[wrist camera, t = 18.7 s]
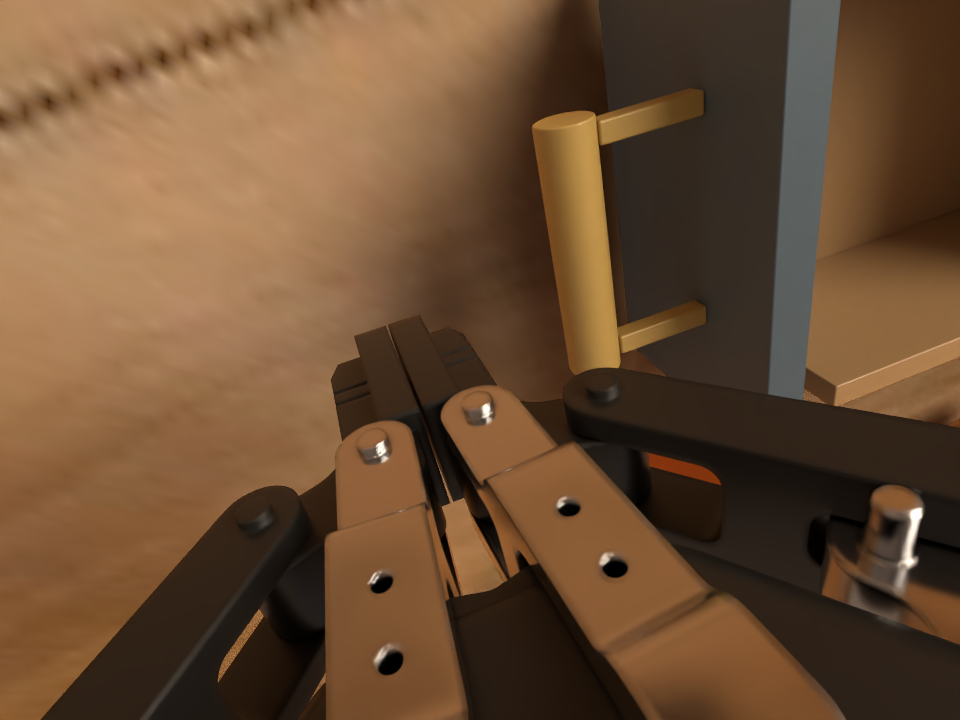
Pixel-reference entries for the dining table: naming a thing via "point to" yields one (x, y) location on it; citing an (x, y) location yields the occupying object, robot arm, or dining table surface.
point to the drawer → (766, 193)
